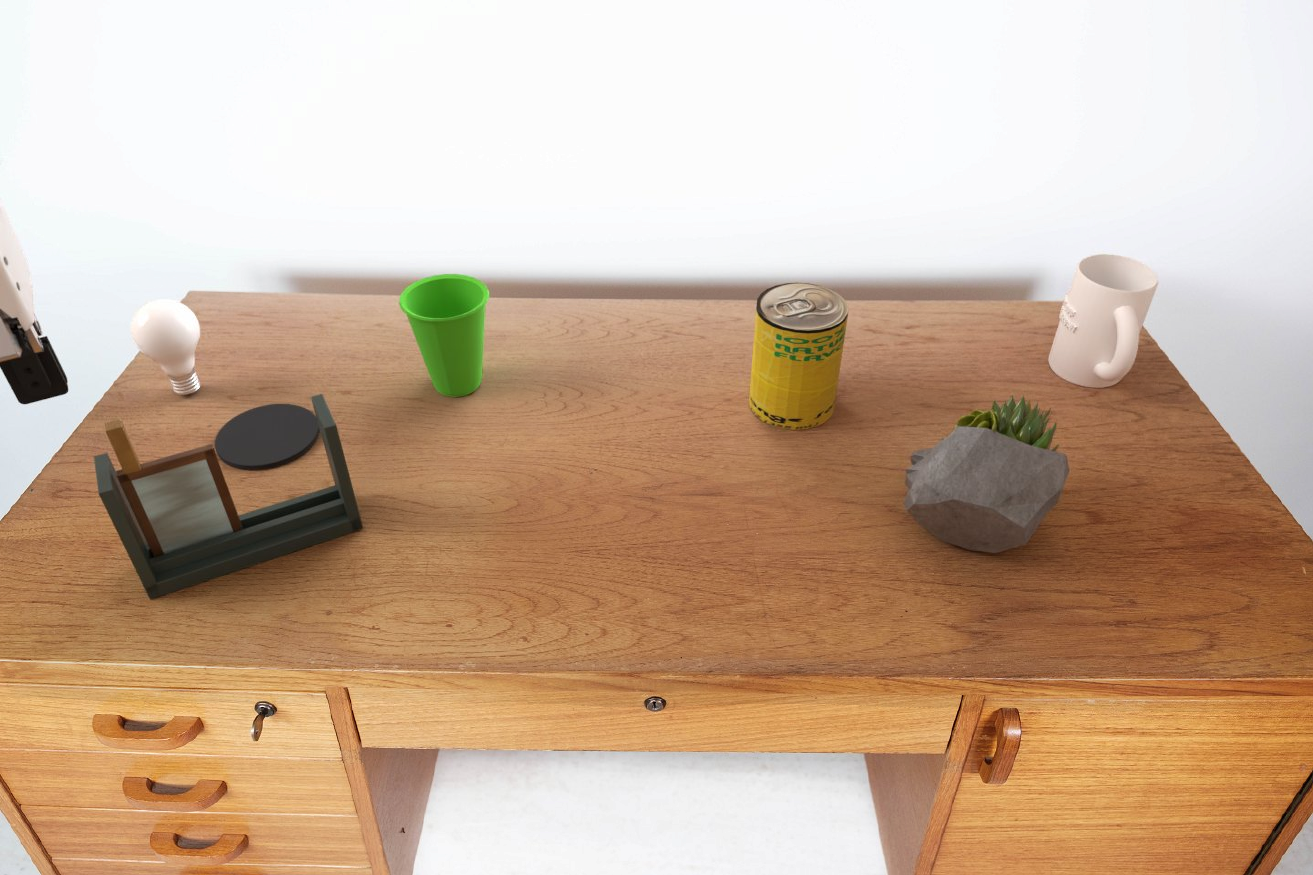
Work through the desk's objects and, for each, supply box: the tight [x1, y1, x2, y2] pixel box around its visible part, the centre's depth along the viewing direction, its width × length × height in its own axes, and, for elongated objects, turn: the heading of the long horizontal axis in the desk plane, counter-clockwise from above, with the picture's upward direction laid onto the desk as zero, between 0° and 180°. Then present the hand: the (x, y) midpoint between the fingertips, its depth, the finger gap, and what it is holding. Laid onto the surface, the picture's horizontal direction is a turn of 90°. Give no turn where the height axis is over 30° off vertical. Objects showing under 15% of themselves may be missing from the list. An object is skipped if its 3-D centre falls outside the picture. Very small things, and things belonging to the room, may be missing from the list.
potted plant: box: [902, 394, 1070, 554], centre depth 86 cm, size 12×13×15 cm
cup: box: [398, 273, 490, 398], centre depth 101 cm, size 9×9×11 cm
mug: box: [1047, 253, 1159, 389], centre depth 102 cm, size 8×12×12 cm
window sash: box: [103, 418, 243, 558], centre depth 79 cm, size 7×1×14 cm, turn 118°
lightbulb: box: [130, 298, 201, 396], centre depth 100 cm, size 6×6×11 cm
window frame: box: [93, 393, 364, 600], centre depth 82 cm, size 18×5×12 cm, turn 118°
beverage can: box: [748, 282, 849, 431], centre depth 99 cm, size 9×9×12 cm
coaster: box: [214, 403, 321, 471], centre depth 97 cm, size 10×10×1 cm
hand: (44, 392), depth 70 cm, fingers closed
